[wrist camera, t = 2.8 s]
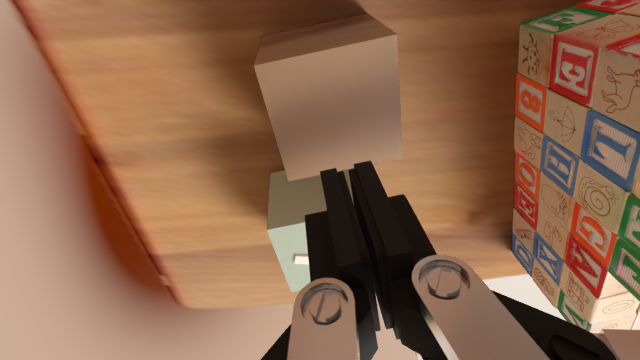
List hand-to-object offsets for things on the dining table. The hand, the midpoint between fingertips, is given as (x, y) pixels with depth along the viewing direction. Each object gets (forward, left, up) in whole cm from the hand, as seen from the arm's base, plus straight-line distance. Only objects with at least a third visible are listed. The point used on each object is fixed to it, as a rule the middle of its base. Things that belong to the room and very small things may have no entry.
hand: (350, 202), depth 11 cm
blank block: (-1, 0, -12) cm, 12 cm away
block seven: (+8, -2, -12) cm, 14 cm away
